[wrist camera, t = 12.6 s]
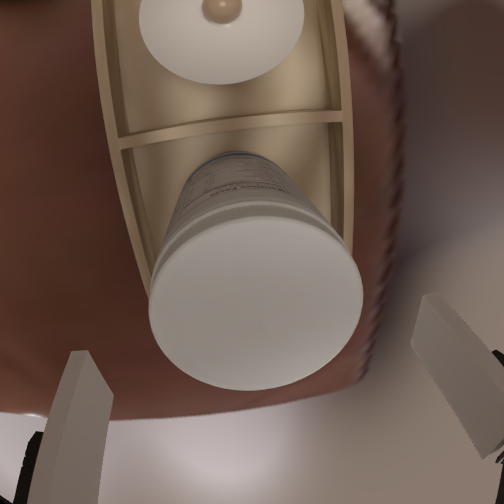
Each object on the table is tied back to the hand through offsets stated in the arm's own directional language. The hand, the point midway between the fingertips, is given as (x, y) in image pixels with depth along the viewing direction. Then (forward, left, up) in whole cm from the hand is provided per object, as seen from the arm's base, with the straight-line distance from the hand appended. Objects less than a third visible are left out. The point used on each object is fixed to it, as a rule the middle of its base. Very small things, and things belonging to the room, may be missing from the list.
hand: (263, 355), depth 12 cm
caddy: (0, +7, -17) cm, 19 cm away
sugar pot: (0, +14, -17) cm, 22 cm away
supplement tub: (0, 0, -17) cm, 17 cm away
